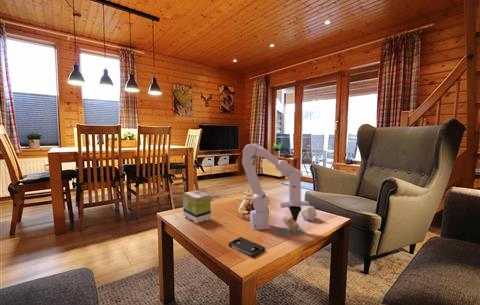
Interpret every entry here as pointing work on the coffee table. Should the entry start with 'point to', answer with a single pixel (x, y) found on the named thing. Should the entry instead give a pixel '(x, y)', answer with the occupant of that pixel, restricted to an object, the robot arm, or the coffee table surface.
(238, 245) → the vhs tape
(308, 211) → the die
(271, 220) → the coffee table surface
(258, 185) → the robot arm
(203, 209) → the tea box
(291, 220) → the maple block
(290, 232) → the slate mat
